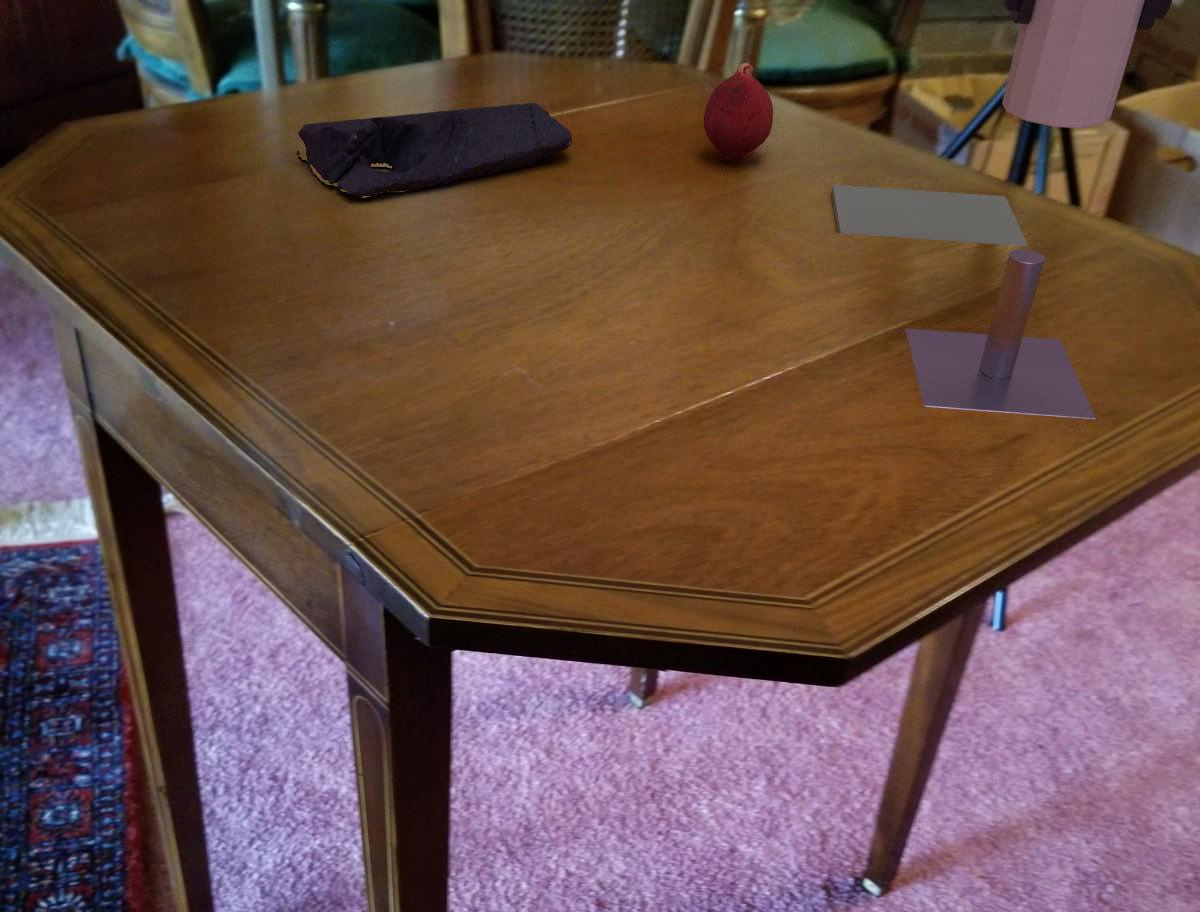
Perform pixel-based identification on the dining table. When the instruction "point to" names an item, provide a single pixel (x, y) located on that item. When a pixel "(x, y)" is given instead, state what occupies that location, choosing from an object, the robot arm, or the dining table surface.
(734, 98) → the onion
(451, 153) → the black folded cloth
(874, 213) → the mat
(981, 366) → the roll stand
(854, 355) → the dining table surface
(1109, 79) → the paper roll
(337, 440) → the dining table surface
